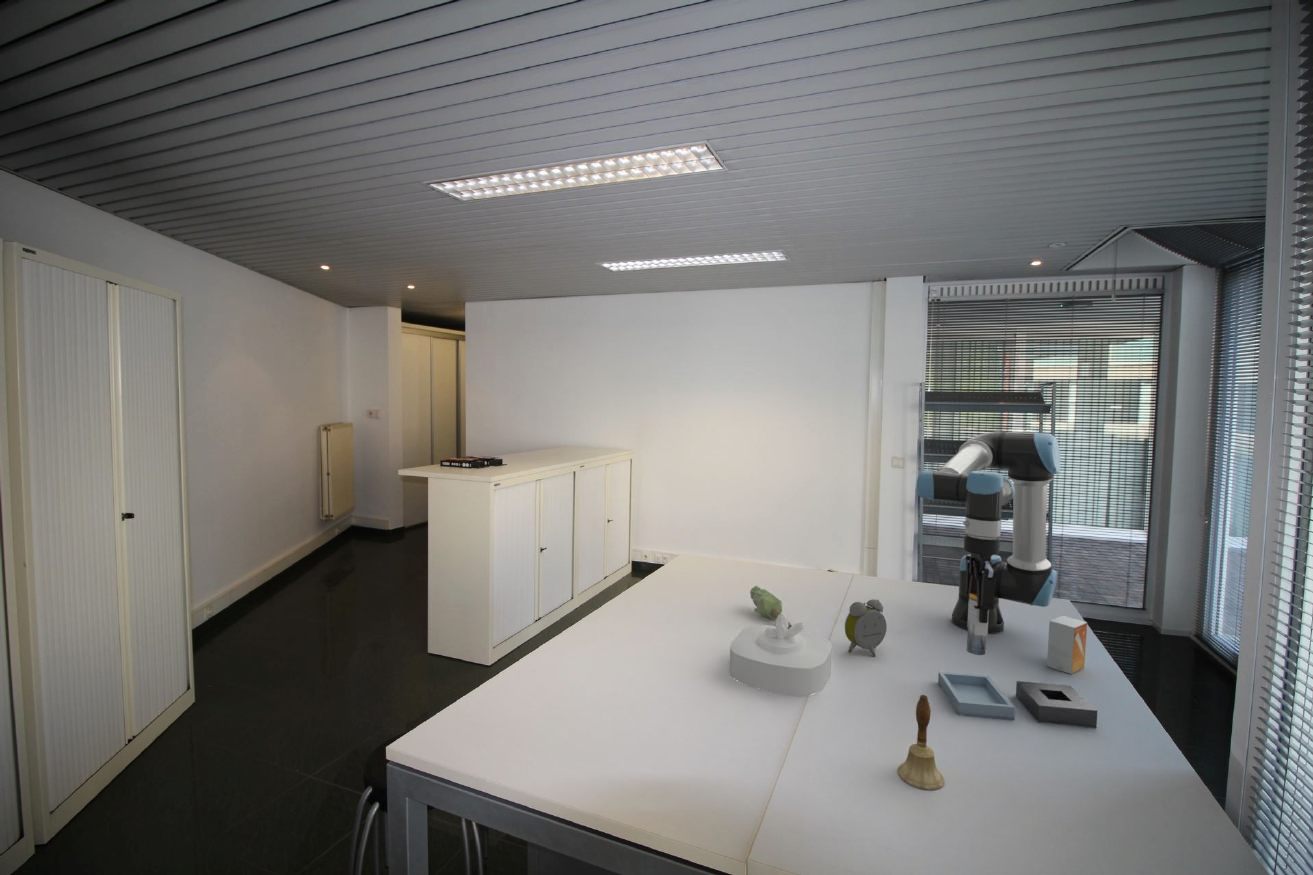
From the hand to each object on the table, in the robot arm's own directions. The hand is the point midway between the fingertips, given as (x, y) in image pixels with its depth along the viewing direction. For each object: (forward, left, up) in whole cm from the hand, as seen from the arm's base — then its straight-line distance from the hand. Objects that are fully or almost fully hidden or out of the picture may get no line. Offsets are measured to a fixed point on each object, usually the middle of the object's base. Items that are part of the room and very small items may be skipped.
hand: (977, 630), depth 145 cm
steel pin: (0, 0, -5) cm, 5 cm away
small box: (-25, +32, -18) cm, 44 cm away
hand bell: (+34, -21, -18) cm, 44 cm away
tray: (0, 0, -17) cm, 17 cm away
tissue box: (-7, -46, -18) cm, 50 cm away
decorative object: (-46, -48, -18) cm, 69 cm away
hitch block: (+2, +17, -17) cm, 24 cm away
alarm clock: (-24, -21, -18) cm, 37 cm away
